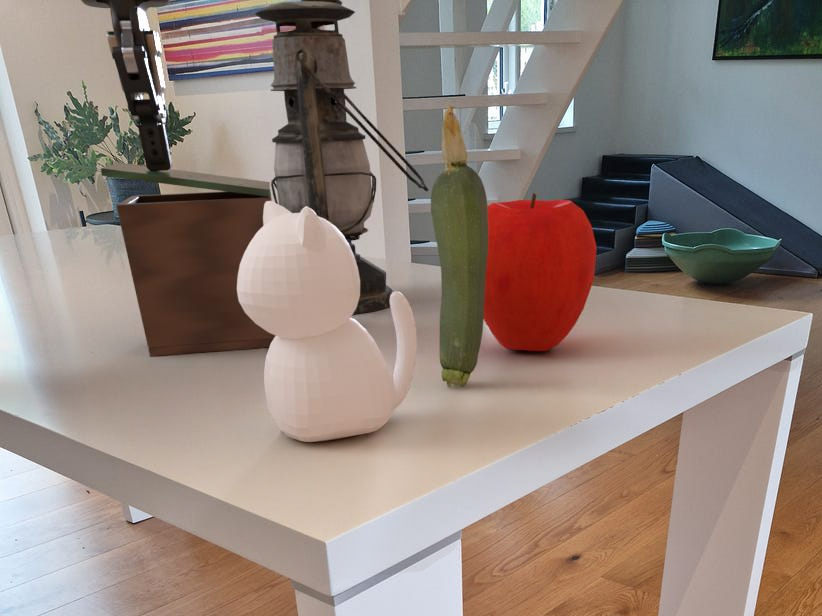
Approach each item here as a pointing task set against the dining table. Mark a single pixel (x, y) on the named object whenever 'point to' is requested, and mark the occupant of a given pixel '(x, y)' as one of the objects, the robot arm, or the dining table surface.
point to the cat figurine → (319, 330)
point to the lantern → (324, 132)
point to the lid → (187, 179)
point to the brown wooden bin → (192, 269)
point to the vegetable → (460, 255)
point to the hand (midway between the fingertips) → (160, 170)
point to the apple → (537, 271)
